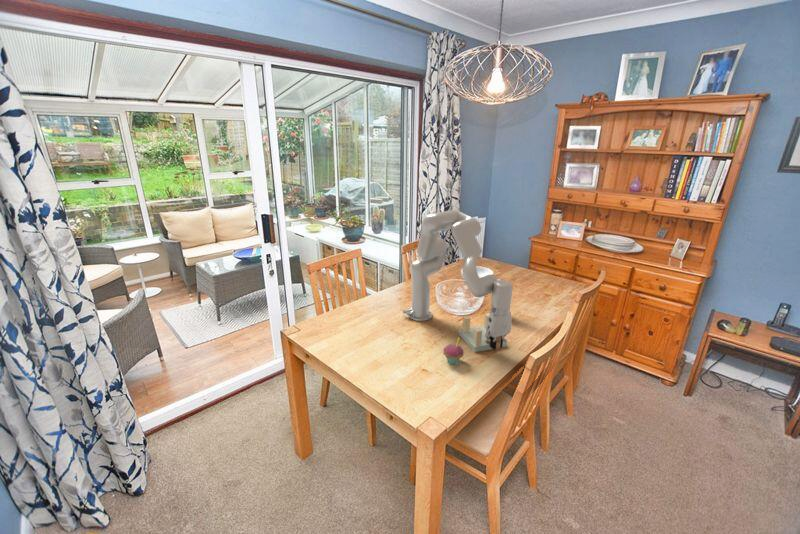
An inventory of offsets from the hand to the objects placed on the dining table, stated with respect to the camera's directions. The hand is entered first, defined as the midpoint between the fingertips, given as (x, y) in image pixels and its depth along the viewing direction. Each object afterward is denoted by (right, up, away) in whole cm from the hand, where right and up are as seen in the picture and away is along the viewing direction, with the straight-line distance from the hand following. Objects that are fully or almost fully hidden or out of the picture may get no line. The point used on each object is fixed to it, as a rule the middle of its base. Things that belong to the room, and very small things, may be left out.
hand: (495, 347), depth 153 cm
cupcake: (-19, -5, -4) cm, 20 cm away
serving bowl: (+9, +25, +80) cm, 85 cm away
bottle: (+10, +9, +35) cm, 38 cm away
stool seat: (-3, +1, +12) cm, 12 cm away
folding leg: (-1, 0, +3) cm, 3 cm away
